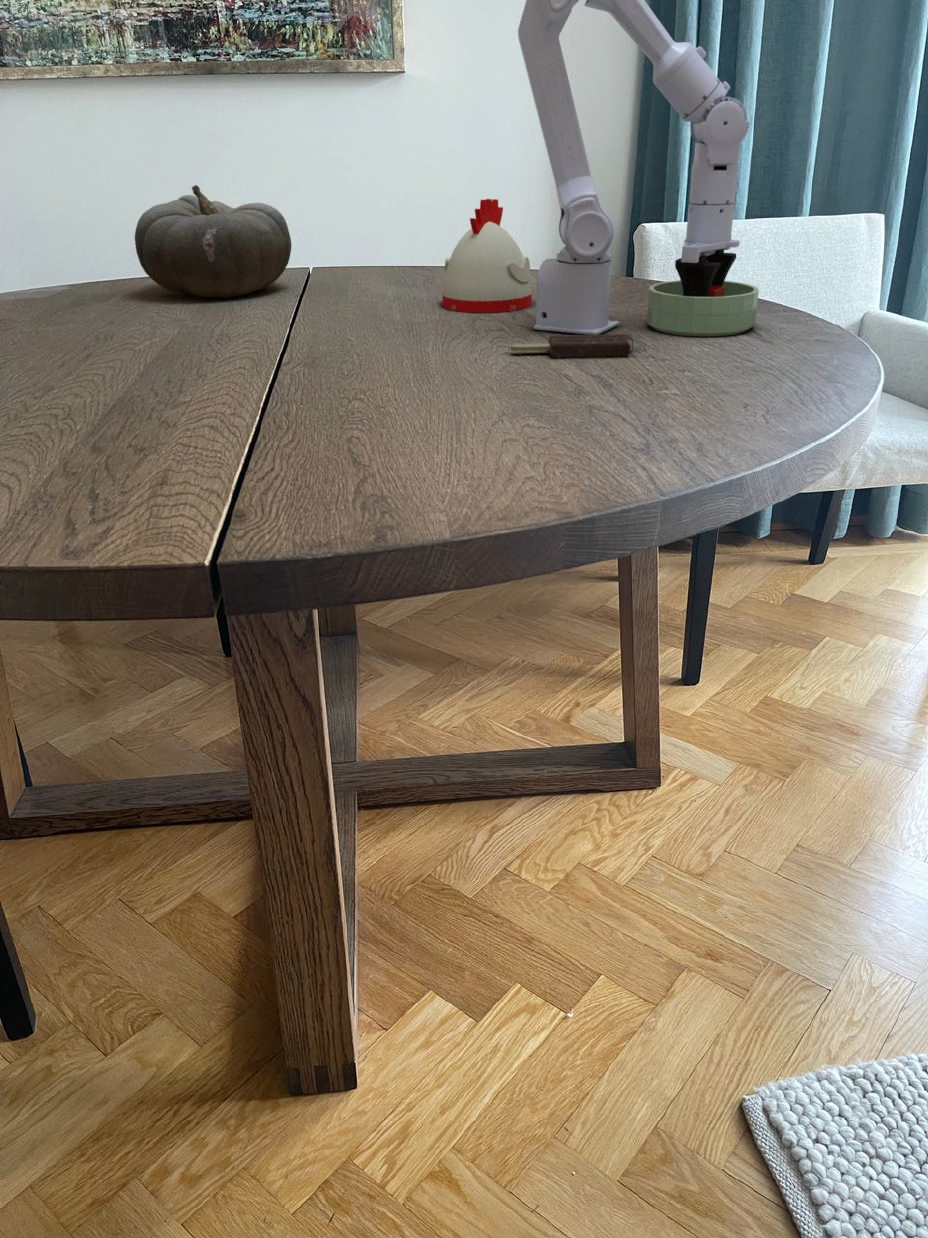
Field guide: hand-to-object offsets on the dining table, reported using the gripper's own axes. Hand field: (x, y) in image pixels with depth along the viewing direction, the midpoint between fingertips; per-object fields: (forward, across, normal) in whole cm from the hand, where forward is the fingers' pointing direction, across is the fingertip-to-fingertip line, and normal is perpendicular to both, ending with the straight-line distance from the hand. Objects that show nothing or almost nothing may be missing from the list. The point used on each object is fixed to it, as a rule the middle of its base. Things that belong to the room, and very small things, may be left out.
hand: (701, 312), depth 126 cm
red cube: (+1, 0, 0) cm, 1 cm away
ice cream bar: (+2, -22, +9) cm, 24 cm away
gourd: (+2, -5, +83) cm, 83 cm away
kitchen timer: (+2, +3, +35) cm, 35 cm away
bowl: (+2, 0, 0) cm, 2 cm away
